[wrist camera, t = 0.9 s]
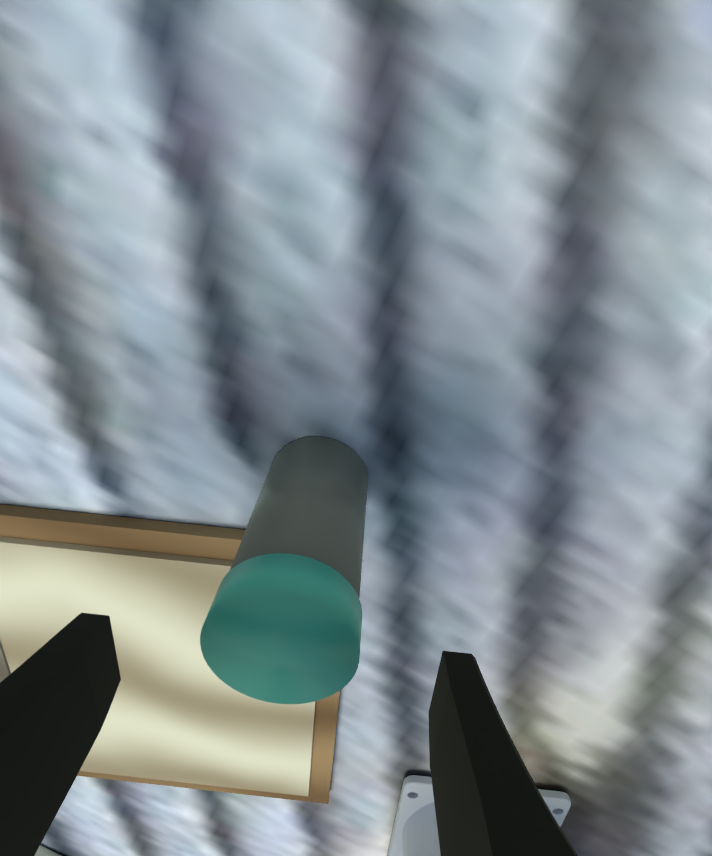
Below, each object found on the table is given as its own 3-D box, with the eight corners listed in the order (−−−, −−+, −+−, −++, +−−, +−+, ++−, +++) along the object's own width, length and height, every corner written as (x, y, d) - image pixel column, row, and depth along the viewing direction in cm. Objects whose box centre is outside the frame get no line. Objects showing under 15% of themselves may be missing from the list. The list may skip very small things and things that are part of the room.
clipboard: (329, 790, 27) (326, 819, 25) (-50, 748, 27) (-70, 775, 26) (355, 541, 19) (353, 565, 18) (-165, 487, 20) (-199, 507, 18)
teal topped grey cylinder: (365, 526, 19) (353, 711, 13) (267, 516, 19) (203, 695, 13) (375, 439, 17) (367, 601, 11) (267, 428, 17) (195, 582, 11)
